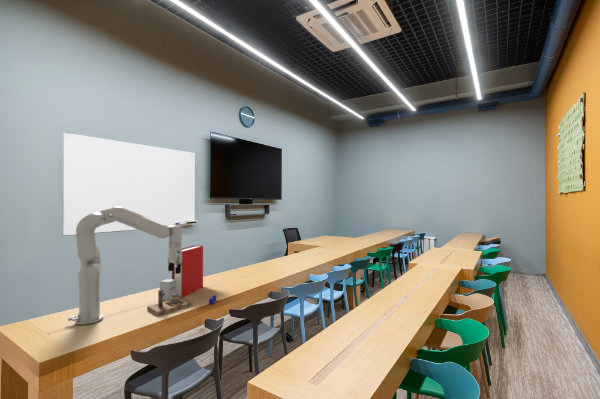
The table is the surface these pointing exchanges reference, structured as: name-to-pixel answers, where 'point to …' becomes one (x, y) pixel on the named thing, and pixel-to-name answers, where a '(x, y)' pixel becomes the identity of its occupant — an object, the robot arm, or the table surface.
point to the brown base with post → (167, 305)
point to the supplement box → (167, 288)
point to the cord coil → (174, 299)
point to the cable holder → (212, 299)
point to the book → (189, 271)
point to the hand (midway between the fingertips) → (174, 272)
